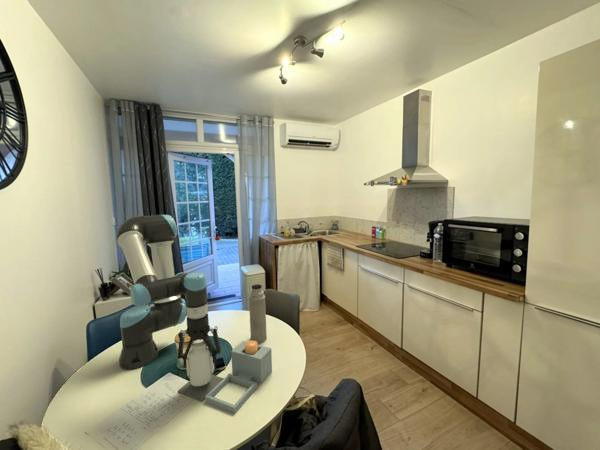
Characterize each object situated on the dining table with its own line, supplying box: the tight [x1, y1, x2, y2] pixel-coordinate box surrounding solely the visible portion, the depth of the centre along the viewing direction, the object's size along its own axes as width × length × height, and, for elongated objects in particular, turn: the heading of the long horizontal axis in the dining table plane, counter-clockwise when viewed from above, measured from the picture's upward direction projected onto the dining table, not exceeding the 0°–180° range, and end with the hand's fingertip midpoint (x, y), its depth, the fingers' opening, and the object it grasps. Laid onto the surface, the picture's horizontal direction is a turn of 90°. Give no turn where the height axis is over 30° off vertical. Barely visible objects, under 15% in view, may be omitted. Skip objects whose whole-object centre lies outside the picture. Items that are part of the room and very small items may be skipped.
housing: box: [204, 341, 273, 414], centre depth 100 cm, size 14×24×10 cm, turn 156°
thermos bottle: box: [248, 284, 268, 344], centre depth 132 cm, size 8×8×28 cm
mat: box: [177, 374, 225, 402], centre depth 101 cm, size 12×12×1 cm
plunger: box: [245, 340, 258, 355], centre depth 107 cm, size 5×5×7 cm
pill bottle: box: [188, 340, 213, 386], centre depth 100 cm, size 8×8×15 cm
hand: (201, 372), depth 100 cm, fingers closed on pill bottle, 8 cm apart
